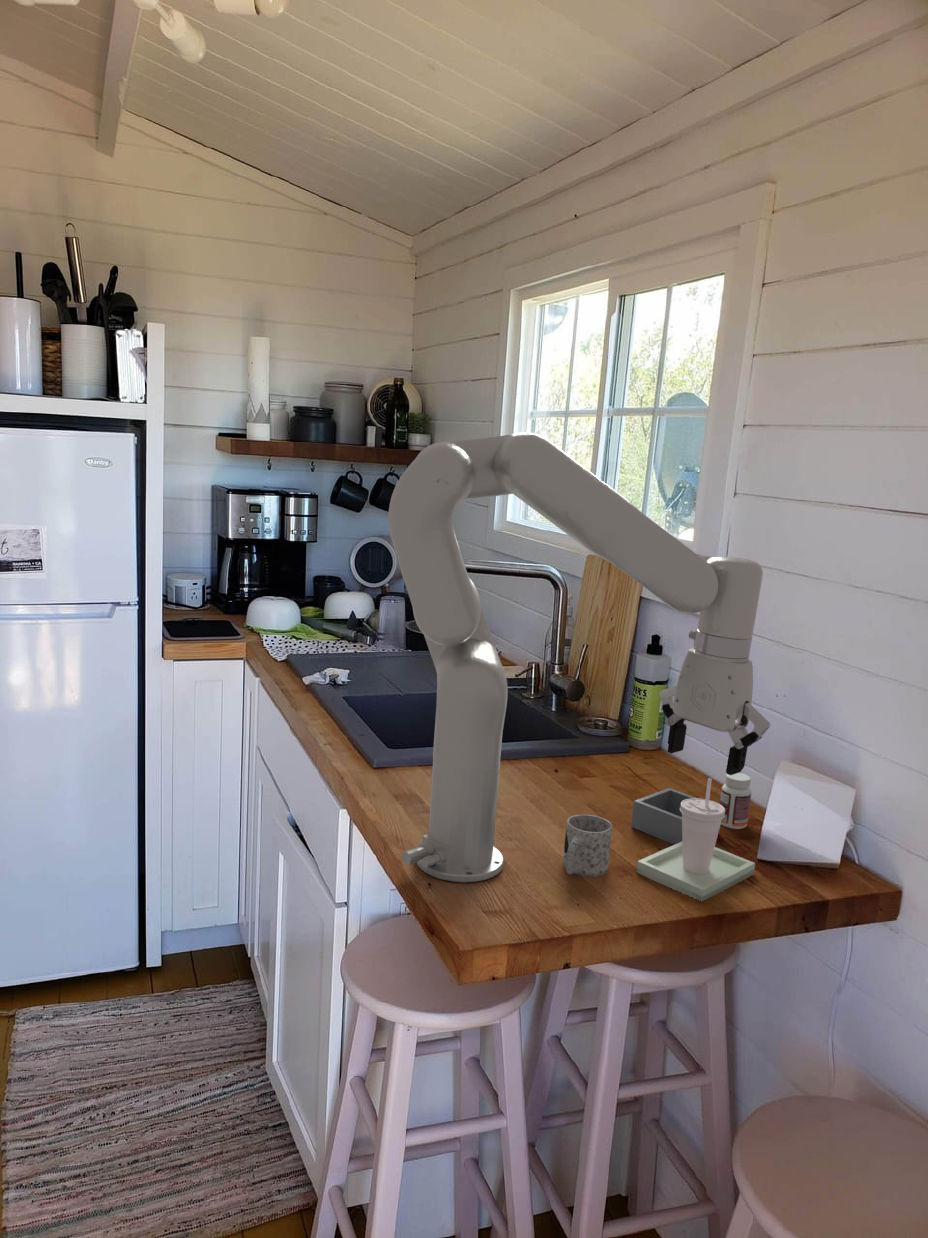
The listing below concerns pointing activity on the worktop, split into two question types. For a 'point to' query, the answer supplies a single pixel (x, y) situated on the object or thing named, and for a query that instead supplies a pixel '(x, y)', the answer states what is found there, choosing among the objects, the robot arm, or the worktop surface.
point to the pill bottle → (736, 800)
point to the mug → (587, 845)
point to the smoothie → (700, 831)
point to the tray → (699, 886)
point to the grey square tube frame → (660, 815)
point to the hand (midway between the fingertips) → (703, 762)
